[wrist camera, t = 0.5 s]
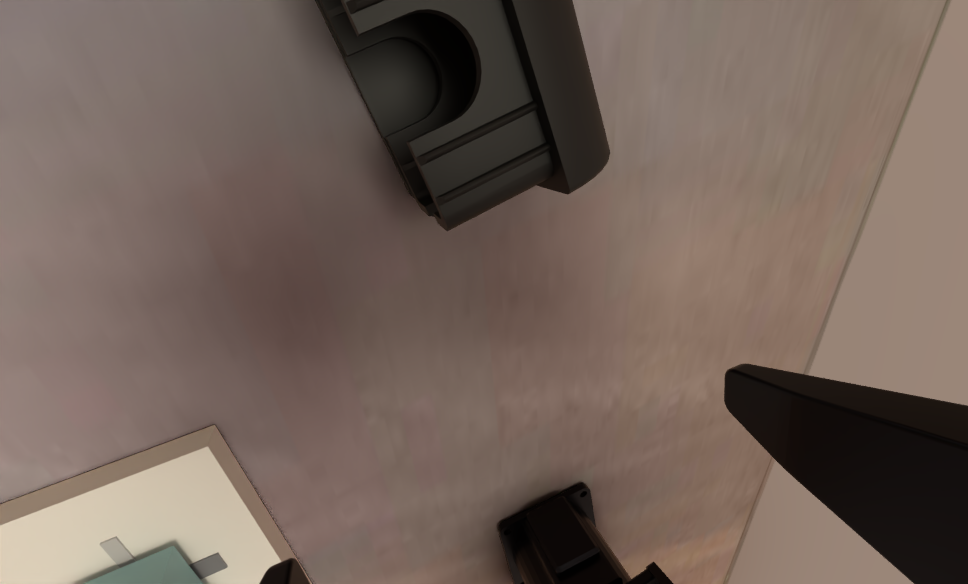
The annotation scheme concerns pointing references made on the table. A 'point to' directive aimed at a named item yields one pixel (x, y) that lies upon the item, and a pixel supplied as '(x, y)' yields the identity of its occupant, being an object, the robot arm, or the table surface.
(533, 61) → the end cap
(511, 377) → the table surface
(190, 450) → the fader panel
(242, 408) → the table surface
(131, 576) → the fader tab
